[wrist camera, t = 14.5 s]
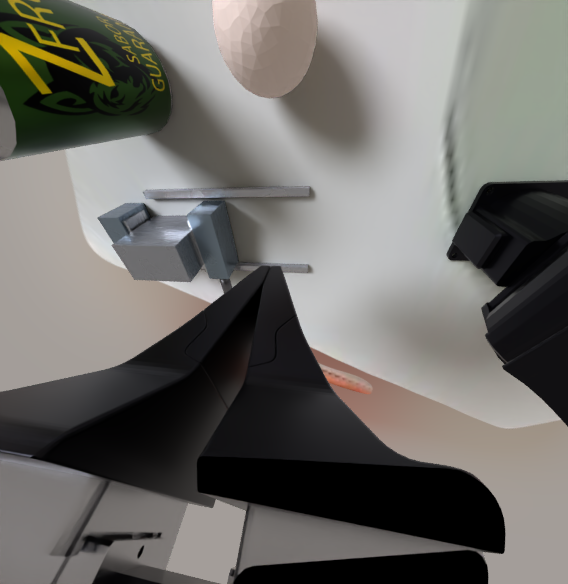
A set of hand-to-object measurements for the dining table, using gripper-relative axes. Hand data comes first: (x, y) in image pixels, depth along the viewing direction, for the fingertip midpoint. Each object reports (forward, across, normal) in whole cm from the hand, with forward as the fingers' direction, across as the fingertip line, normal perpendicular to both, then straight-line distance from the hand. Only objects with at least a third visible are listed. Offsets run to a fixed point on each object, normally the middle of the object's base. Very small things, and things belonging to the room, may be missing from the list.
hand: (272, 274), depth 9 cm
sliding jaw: (+12, +8, +6) cm, 15 cm away
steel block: (+12, +12, +4) cm, 17 cm away
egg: (+12, +1, -8) cm, 15 cm away
